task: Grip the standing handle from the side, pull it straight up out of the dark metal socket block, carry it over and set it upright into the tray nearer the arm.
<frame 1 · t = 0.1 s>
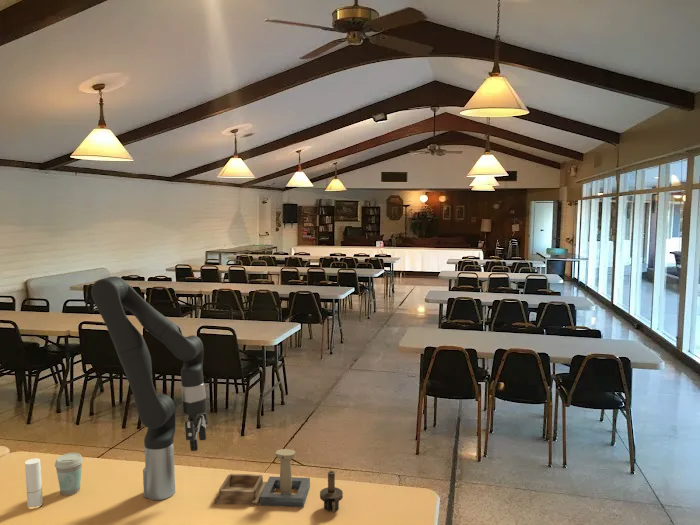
hand: (198, 445, 193), 17 cm above the table, tool pointing down, fingers open, 8 cm apart
industrial component: (331, 507, 187), on the table
socket block: (286, 495, 194), on the table
tray: (241, 493, 195), on the table
coffee cup: (70, 492, 197), on the table
handle: (286, 496, 194), resting in socket block
tube: (35, 506, 188), on the table
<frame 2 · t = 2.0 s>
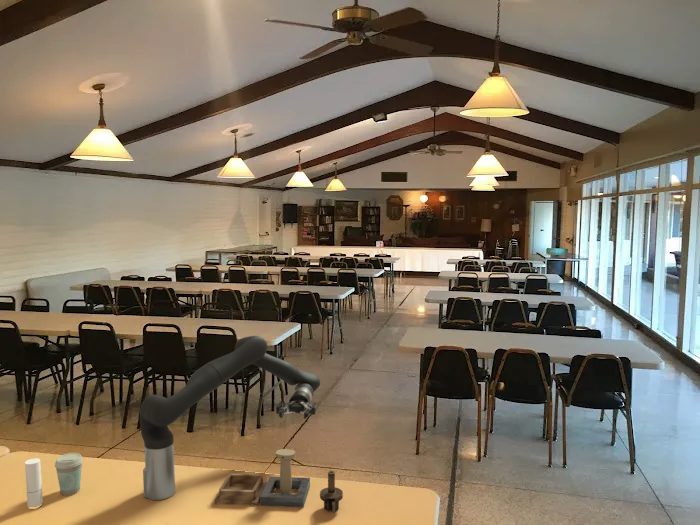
hand: (293, 415, 206), 22 cm above the table, tool horizontal, fingers open, 8 cm apart
nothing on the table moved.
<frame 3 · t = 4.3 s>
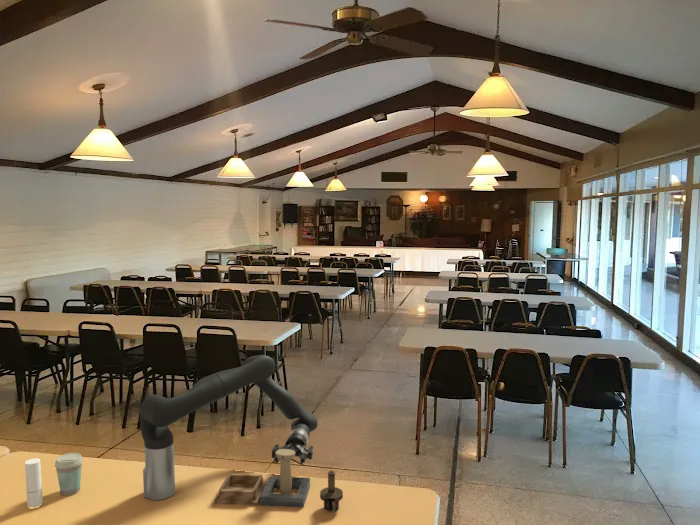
hand: (289, 460, 200), 9 cm above the table, tool horizontal, fingers open, 8 cm apart
nothing on the table moved.
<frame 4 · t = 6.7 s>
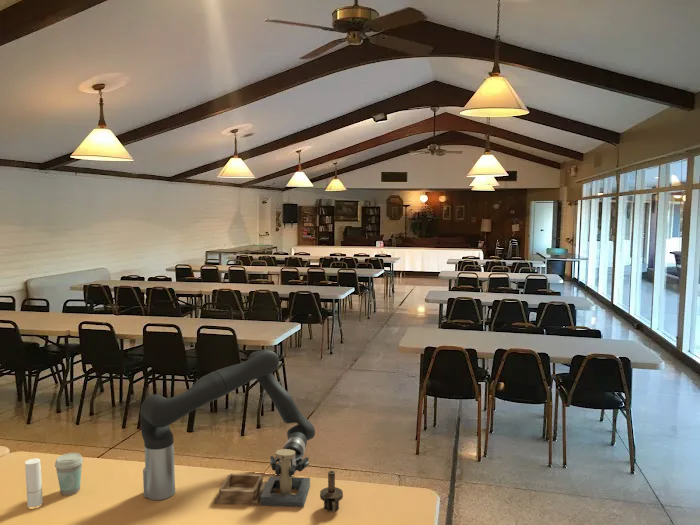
hand: (284, 473, 190), 9 cm above the table, tool horizontal, fingers closed on handle, 3 cm apart
handle: (286, 496, 194), resting in socket block, touching gripper
everything else where it was.
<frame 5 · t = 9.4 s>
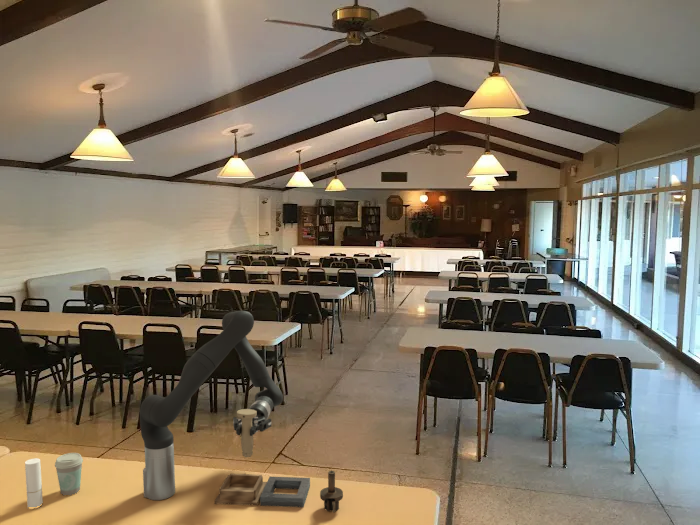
hand: (244, 432, 190), 23 cm above the table, tool horizontal, fingers closed on handle, 3 cm apart
handle: (247, 456, 193), point 13 cm above the table, touching gripper
everything else where it was.
when the fingers open (11 cm above the table, at t = 12.3 s): handle stays where it is, resting on tray.
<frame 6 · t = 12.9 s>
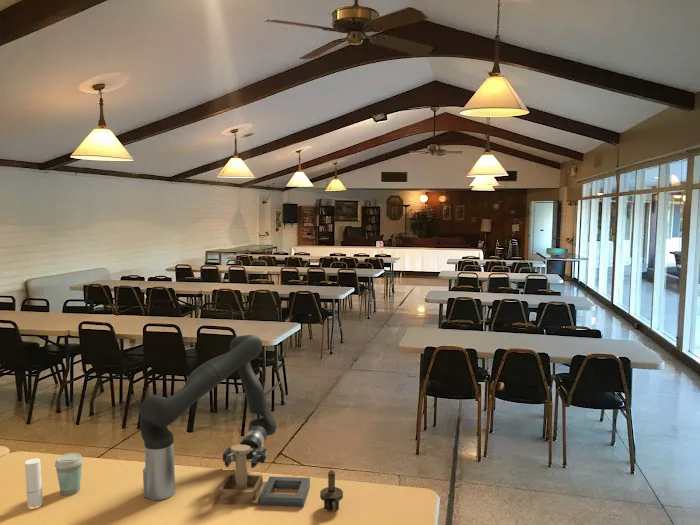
hand: (239, 464, 192), 11 cm above the table, tool horizontal, fingers open, 8 cm apart
handle: (241, 491, 195), point 1 cm above the table, touching tray
everything else where it was.
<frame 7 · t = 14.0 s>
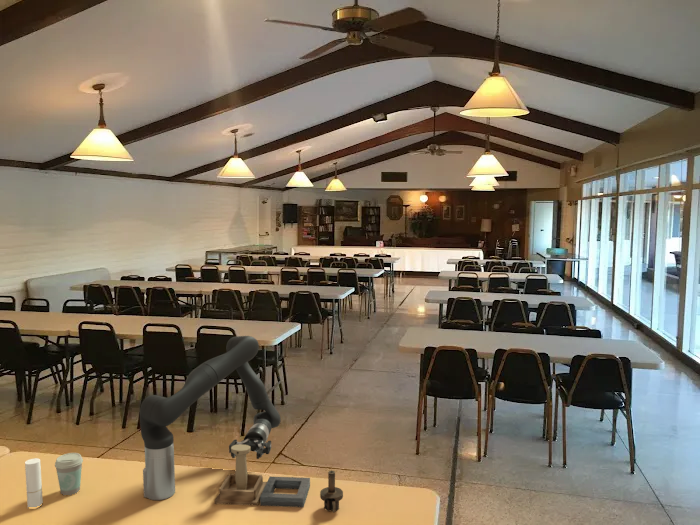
hand: (245, 455, 199), 11 cm above the table, tool horizontal, fingers open, 8 cm apart
nothing on the table moved.
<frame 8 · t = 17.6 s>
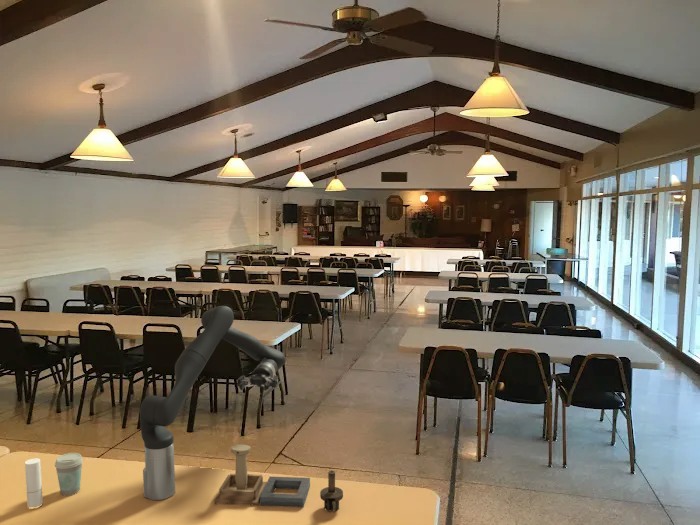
hand: (253, 387, 206), 32 cm above the table, tool horizontal, fingers open, 8 cm apart
nothing on the table moved.
at the end: handle 0.2 cm off-centre on the tray, point 0.8 cm above the tray's base; handle tilted 0°; the gripper is holding nothing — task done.
